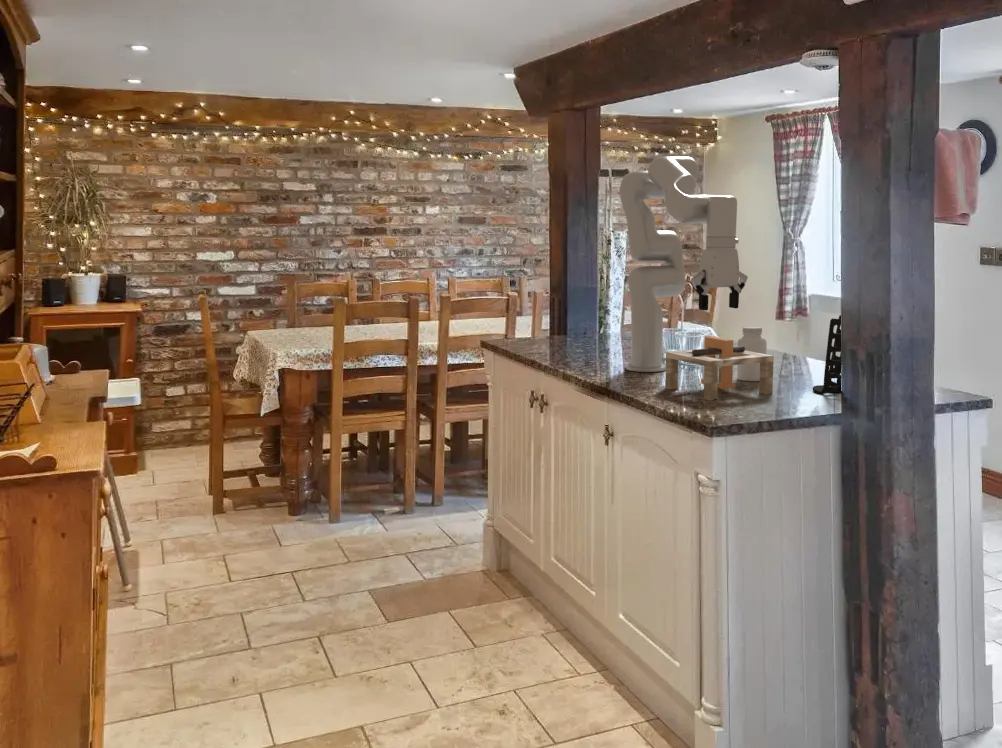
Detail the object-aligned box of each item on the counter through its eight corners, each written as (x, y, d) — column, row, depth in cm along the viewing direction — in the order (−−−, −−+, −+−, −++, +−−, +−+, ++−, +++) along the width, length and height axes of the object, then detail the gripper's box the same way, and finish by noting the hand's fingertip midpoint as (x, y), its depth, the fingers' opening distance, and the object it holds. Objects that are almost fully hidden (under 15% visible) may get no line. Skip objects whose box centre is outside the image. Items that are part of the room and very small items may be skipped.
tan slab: (722, 389, 244) (723, 340, 242) (701, 383, 253) (701, 337, 251) (735, 387, 246) (736, 339, 244) (713, 382, 255) (714, 336, 253)
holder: (811, 386, 253) (822, 313, 249) (841, 389, 251) (852, 316, 247) (812, 393, 242) (824, 317, 238) (843, 397, 240) (855, 321, 236)
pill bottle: (744, 376, 272) (745, 325, 269) (770, 378, 267) (771, 326, 264) (732, 380, 266) (733, 327, 263) (758, 382, 261) (760, 329, 258)
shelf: (709, 400, 237) (710, 355, 235) (665, 388, 255) (665, 346, 253) (772, 393, 245) (773, 349, 243) (725, 382, 263) (726, 341, 261)
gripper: (738, 242, 250) (736, 305, 254) (684, 244, 244) (683, 309, 247) (756, 243, 244) (754, 308, 247) (701, 245, 237) (699, 312, 240)
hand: (718, 308), depth 247 cm, fingers open, 9 cm apart
